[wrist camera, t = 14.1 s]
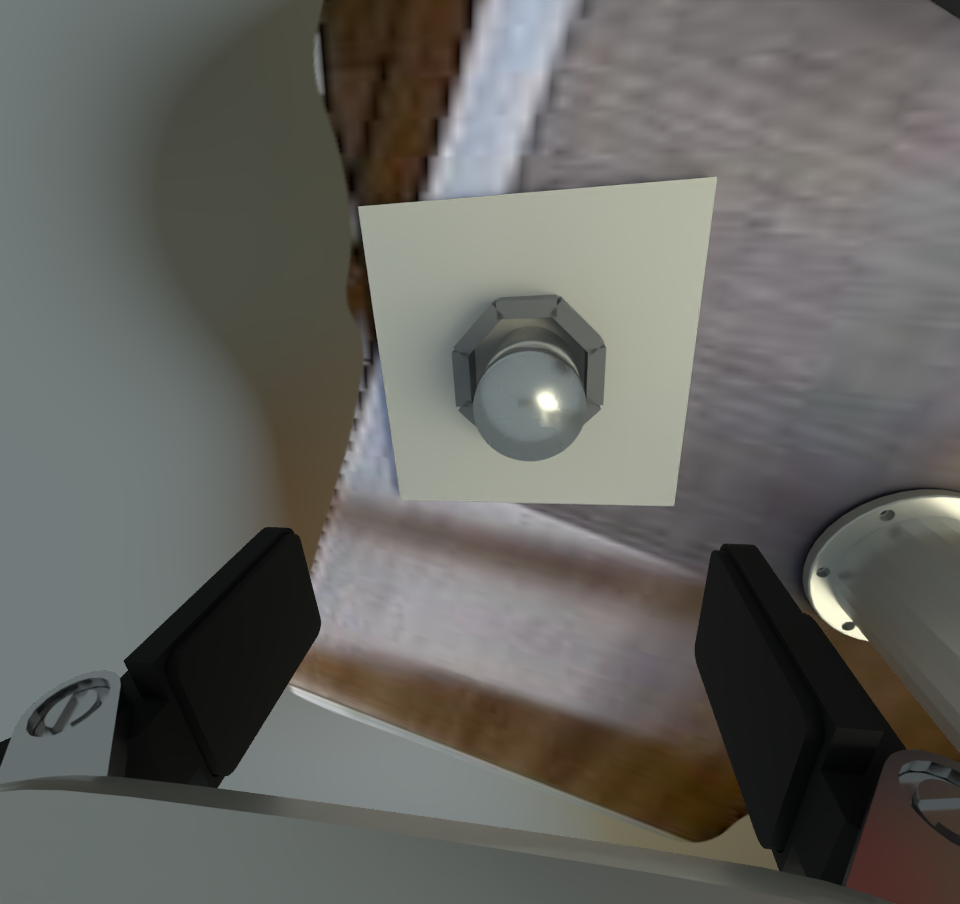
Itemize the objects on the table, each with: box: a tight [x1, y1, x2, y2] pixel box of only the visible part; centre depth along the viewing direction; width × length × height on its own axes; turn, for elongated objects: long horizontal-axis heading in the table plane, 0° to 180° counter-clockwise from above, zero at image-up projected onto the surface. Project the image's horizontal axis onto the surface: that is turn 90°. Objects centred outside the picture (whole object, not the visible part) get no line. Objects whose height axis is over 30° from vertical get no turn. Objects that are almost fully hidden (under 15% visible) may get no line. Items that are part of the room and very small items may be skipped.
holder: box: [358, 177, 717, 506], centre depth 29 cm, size 20×20×4 cm
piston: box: [473, 326, 587, 461], centre depth 26 cm, size 6×6×8 cm
